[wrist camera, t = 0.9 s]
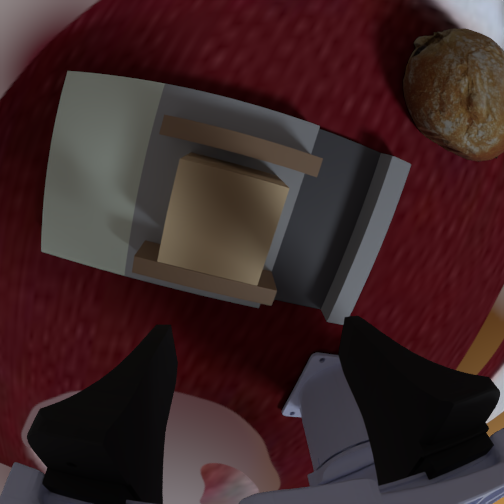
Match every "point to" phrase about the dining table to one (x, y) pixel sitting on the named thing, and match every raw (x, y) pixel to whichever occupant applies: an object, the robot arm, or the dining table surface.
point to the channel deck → (224, 148)
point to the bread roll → (458, 92)
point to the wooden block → (221, 218)
